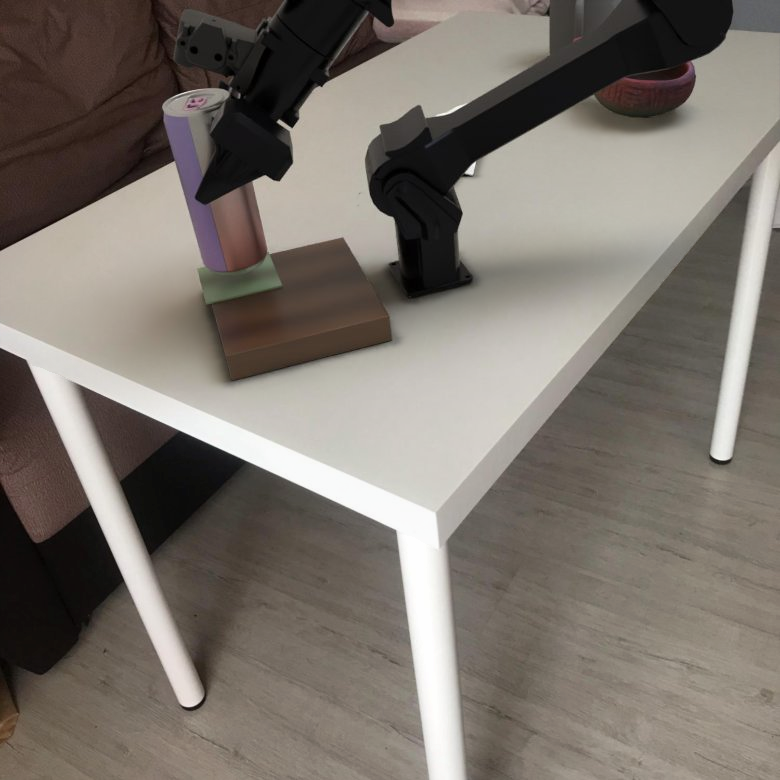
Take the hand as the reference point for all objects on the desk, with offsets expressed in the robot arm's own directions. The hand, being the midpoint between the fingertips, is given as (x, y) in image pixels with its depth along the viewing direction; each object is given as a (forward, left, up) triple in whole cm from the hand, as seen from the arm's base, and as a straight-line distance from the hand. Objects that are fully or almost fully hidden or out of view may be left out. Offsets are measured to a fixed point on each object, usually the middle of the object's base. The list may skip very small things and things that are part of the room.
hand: (202, 186), depth 75 cm
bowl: (+24, -55, -12) cm, 61 cm away
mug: (+45, -59, -12) cm, 75 cm away
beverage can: (0, -1, -8) cm, 8 cm away
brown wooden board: (-5, -5, -12) cm, 14 cm away
